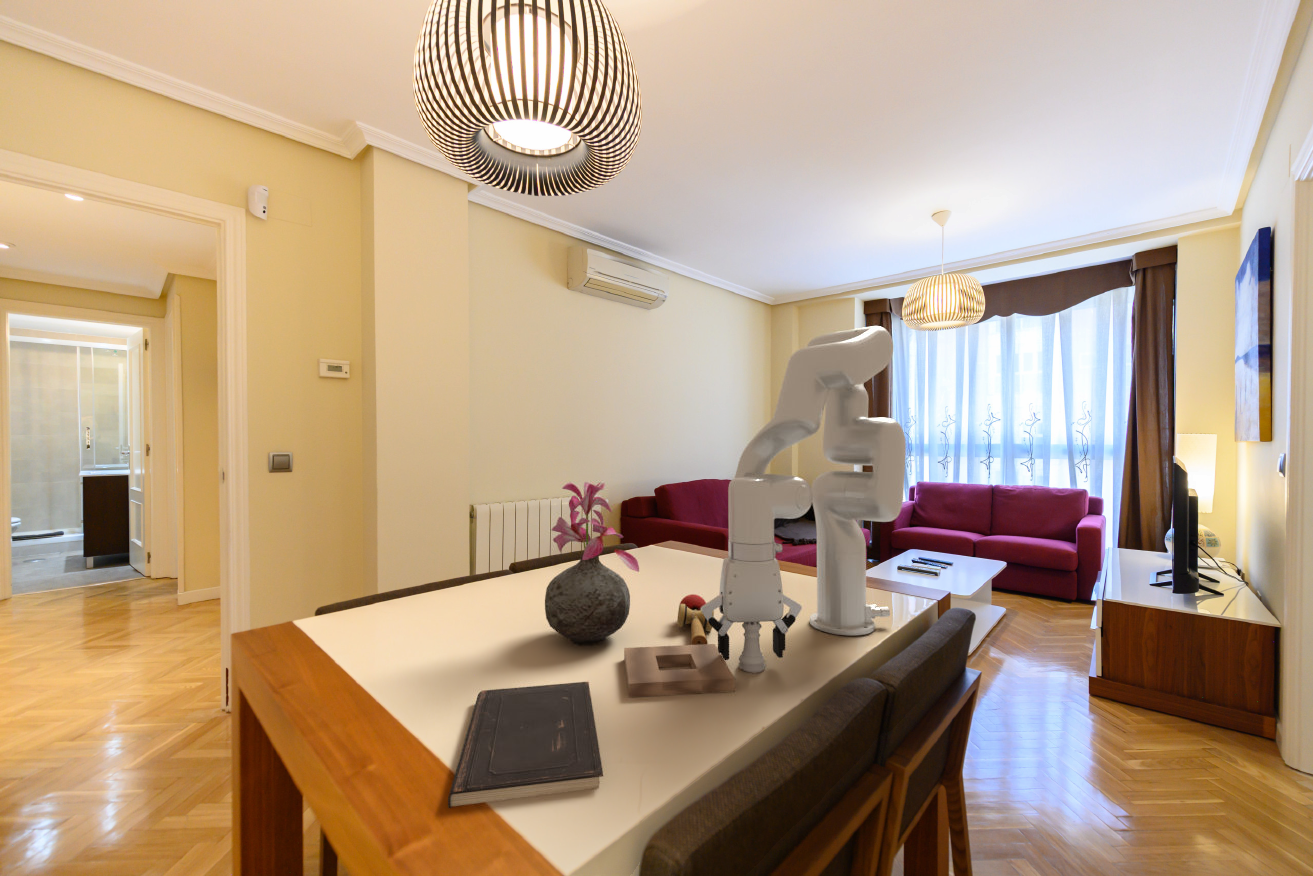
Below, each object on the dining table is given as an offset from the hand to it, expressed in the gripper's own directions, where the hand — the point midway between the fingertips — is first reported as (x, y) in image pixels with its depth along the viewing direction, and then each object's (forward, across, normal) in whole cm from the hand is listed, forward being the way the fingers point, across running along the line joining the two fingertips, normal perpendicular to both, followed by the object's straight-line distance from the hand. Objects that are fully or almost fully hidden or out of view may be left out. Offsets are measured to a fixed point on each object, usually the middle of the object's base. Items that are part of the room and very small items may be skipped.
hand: (751, 655), depth 90 cm
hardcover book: (+3, +34, +18) cm, 38 cm away
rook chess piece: (+2, 0, 0) cm, 2 cm away
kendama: (+3, +6, -18) cm, 19 cm away
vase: (+2, +27, -17) cm, 32 cm away
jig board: (+2, +13, +1) cm, 13 cm away
